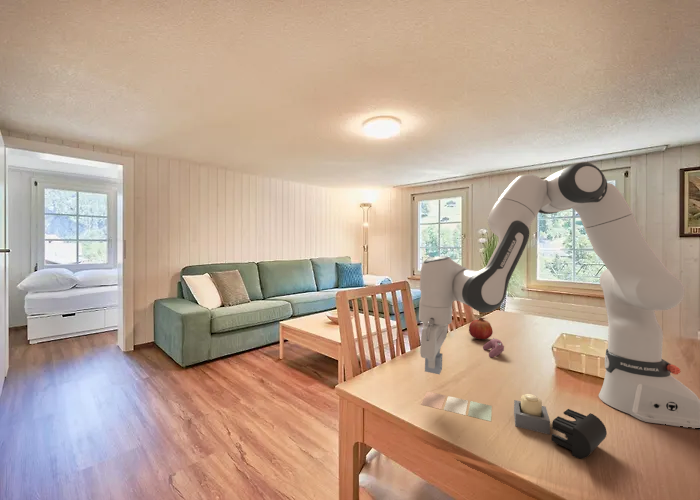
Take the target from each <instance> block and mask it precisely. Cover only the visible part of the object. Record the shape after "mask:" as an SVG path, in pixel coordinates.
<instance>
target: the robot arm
mask: <svg viewBox="0 0 700 500" xmlns="http://www.w3.org/2000/svg"><path fill="white" fill-rule="evenodd" d="M570 209H572V210H574V211H575V212H576V213H577V214H578V215H579V218H580V220H581V223H582V226H583V228H584V230H585V232H586V235H587V238H588V240H589V242H590V245H591V246H592V249H593V250H594V253H595V255H596V256H597V257H598V258H600V260H601V261H602V263H603V264H604V265H605V267H606V269H605V270H604V271H603V272H602V273H601V274H600V277H599V286H600V287H601V290H602V292H603V298H604V304H605V310H606V314H607V315H606V316H607V323H608V324H607V325H608V334H607V348H606V349H605V355H604V368H605V374H604V378H603V379H604V380H603V382H602V383H603V384H602V386H601V389H600V391H599V393H598V398H599V399H600V400H601V401H602V402H603V403H604V404H606V405H608V406H610V407H612V408H614V409H616V410H619V411H621V412H623V413H626V414H628V415H631V416H632V417H633V418H636V419H638V420H640V421H642V422H646V423H653V424H659V425H660V424H661V425H665V424H666V425H667V426H674V427H680V426H683V427H682V428H688V427H692V428H691V429H695V428H700V397H698V395H697V394H696V393H695V392H694V391H692V390H691V389H690V388H689V387H687V386H686V385H685V384H684V383H682V382H681V381H680V380H679V379H677V378H676V377H674V376H673V375H679V374H681V372H682V371H681V369H680V368H679V367H678V366H677V365H675V364H672V363H670V362H668V361H667V360H665V359H663V357H662V356H663V339H664V332H663V328H662V327H661V325H660V323H659V322H658V319H657V316H656V312H655V311H668V310H671V309H674V308H676V307H677V306H678V305H680V304H681V302H682V301H683V299H684V298H685V293H686V290H685V286H684V284H683V283H682V280H681V279H679V278H678V277H677V276H675V275H674V274H673V273H672V272H671V271H670V270H669V269H668V268H667V267H666V266H665V264H664V263H663V262H662V261H661V259H660V258H659V257H658V255H657V254H656V253H655V251H654V250H653V249H652V247H651V246H650V245H649V243H648V242H647V240H646V239H645V237H644V234H643V233H642V231H641V229H640V226H639V224H638V222H637V220H636V218H635V216H634V213H633V211H632V210H631V207H630V206H629V204H628V202H627V201H626V199H625V197H624V196H623V194H622V193H621V192H620V190H619V189H618V188H617V186H615V185H614V184H613V183H610V182H608V181H607V179H606V176H605V174H604V173H603V171H602V170H601V169H600V168H599V167H598V166H597V165H594V163H590V162H577V163H573V164H570V165H568V166H566V167H564V168H562V169H560V170H557V171H556V172H553V173H551V174H550V175H548V176H547V177H545V178H544V179H542V178H541V177H540V176H537V175H534V174H529V173H528V174H521V175H519V176H518V177H517V176H516V178H515V179H514V180H512V182H511V183H510V184H509V185H508V186H507V187H506V189H504V191H503V192H502V193H501V194H500V196H499V197H498V199H497V200H496V202H494V204H493V206H492V208H491V210H490V211H489V214H488V217H487V218H486V219H487V225H488V227H489V230H490V231H491V232H492V233H493V234H494V235H495V236H496V237H497V238H498V242H497V245H495V246H496V247H495V249H494V250H493V253H492V254H491V256H490V258H489V259H488V262H487V264H486V266H484V267H483V268H482V269H480V270H476V269H472V268H468V267H466V266H463V265H460V264H459V263H457V262H456V261H454V260H453V259H452V258H451V257H450V256H445V255H443V256H442V255H441V256H434V257H430V258H427V259H425V260H424V261H423V262H422V265H421V269H420V278H419V291H420V298H419V302H418V303H419V304H418V308H419V309H418V321H419V322H422V326H423V327H422V328H421V335H420V351H419V354H420V357H421V358H423V359H425V358H427V359H428V367H429V368H433V369H434V368H435V366H436V355H437V353H438V351H439V350H440V351H441V348H442V347H443V344H444V342H445V340H446V338H447V334H448V329H449V324H452V321H453V319H452V318H453V302H460V303H462V304H464V305H466V306H468V307H470V308H472V309H473V310H475V311H476V312H479V313H491V312H493V311H495V310H497V309H498V308H499V307H500V306H501V305H502V304H503V303H504V301H505V299H506V296H507V291H508V287H509V283H510V281H511V278H512V275H513V273H514V271H515V270H516V268H517V265H518V263H519V261H520V259H521V257H522V255H523V253H524V251H525V248H526V247H527V244H528V241H529V237H530V227H531V225H532V223H533V221H534V220H535V219H536V217H537V215H538V214H541V215H542V214H544V215H550V214H551V215H553V214H556V213H559V212H563V211H567V210H570ZM672 374H673V375H672Z"/></svg>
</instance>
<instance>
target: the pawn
mask: <svg viewBox="0 0 700 500" xmlns="http://www.w3.org/2000/svg"><path fill="white" fill-rule="evenodd" d="M442 371H443V353H441V349H440V350H439V351H438V353H437V355H436V366H435V368H434V369H433V368H429V367H428V359H427V358H424V372H426V373H430V374H435V375H441V373H442Z"/></svg>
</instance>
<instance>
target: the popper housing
mask: <svg viewBox="0 0 700 500" xmlns="http://www.w3.org/2000/svg"><path fill="white" fill-rule="evenodd" d="M513 402H514V403H513V416H514V424H515V427H517V428H521V429H526V430H528V431H533V432H538V433H542V434H545V435H550V434H551V433H550V432H551V430H550V429H551V420H550V417H549V412H548V409H547V406H545V405H542V415H541V417H538V416H534V415H529V414H525V413H521V400H516V399H514V401H513Z"/></svg>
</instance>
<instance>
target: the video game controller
mask: <svg viewBox="0 0 700 500" xmlns="http://www.w3.org/2000/svg"><path fill="white" fill-rule="evenodd" d="M482 349H483V350H484V351H488V350H490V351H489V352H488V357H490V358H495V357H497V356H499V355H500V354H502V353H503V352H504V351H505V346H504V345H503V341H501V340H500V339H498V338H494V337H493V338H492V339H490V340H489V341H487V342H486V343H485V344H483V346H482Z"/></svg>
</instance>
